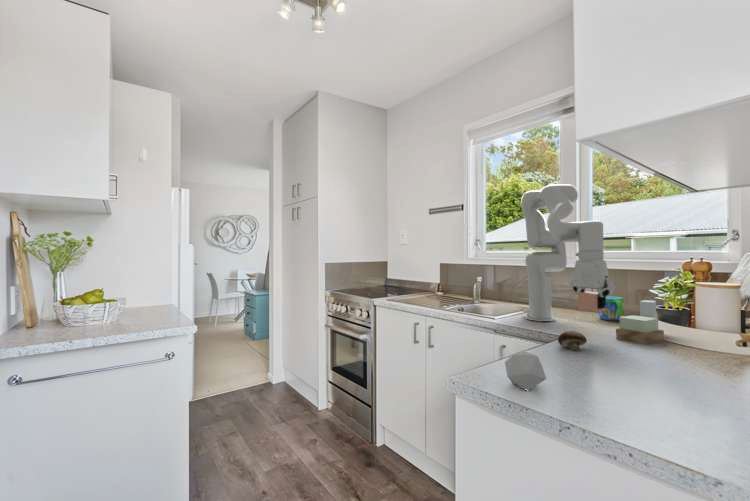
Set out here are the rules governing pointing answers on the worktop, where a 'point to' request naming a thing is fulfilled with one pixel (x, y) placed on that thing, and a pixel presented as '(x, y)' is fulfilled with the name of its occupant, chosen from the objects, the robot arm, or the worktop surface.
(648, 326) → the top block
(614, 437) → the worktop surface
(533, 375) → the die
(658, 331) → the bottom slab
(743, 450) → the worktop surface
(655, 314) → the skincare box
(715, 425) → the worktop surface
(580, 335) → the mushroom
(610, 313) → the snack cup
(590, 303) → the cube
